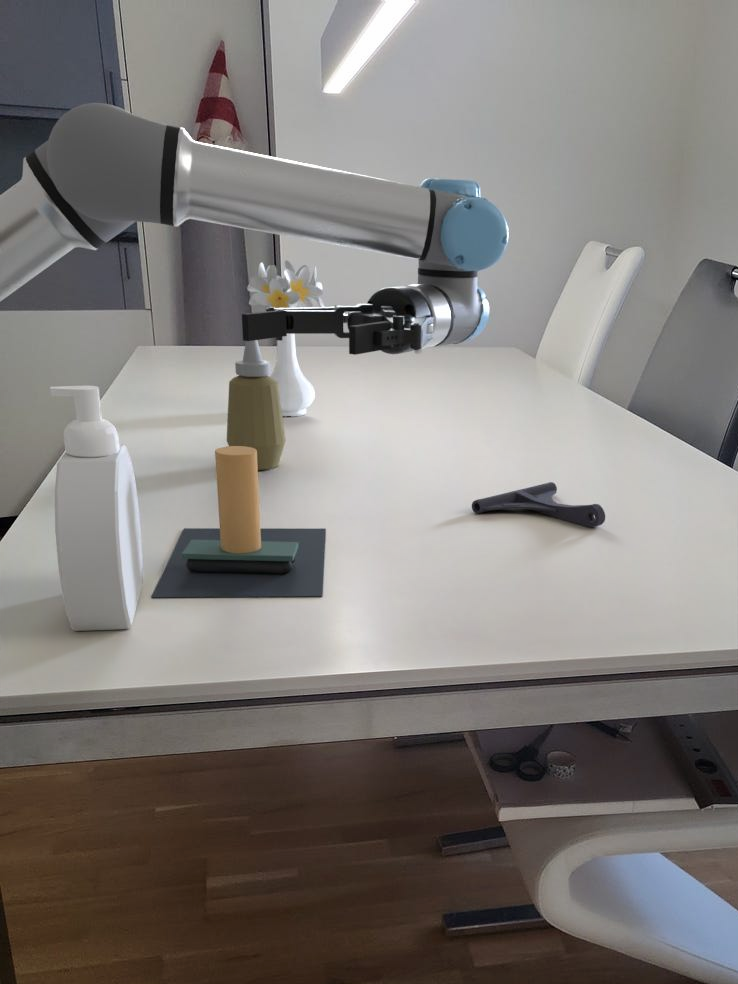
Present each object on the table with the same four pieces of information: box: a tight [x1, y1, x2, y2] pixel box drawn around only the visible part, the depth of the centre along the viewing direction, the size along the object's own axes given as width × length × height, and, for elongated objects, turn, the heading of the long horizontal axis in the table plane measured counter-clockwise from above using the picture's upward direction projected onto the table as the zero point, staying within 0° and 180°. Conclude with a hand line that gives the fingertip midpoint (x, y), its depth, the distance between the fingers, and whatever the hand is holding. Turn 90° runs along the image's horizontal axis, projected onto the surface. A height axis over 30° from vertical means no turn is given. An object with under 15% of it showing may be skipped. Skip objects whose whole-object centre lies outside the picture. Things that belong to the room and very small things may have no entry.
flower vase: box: [246, 259, 326, 417], centre depth 176 cm, size 13×18×25 cm
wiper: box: [182, 445, 298, 574], centre depth 104 cm, size 11×5×12 cm, turn 93°
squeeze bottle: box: [226, 340, 287, 471], centre depth 142 cm, size 8×8×18 cm
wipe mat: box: [151, 527, 327, 599], centre depth 109 cm, size 16×22×1 cm
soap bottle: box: [49, 385, 144, 632], centre depth 91 cm, size 16×5×20 cm, turn 12°
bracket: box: [471, 481, 606, 528], centre depth 128 cm, size 14×15×3 cm
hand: (296, 333), depth 106 cm, fingers open, 13 cm apart
